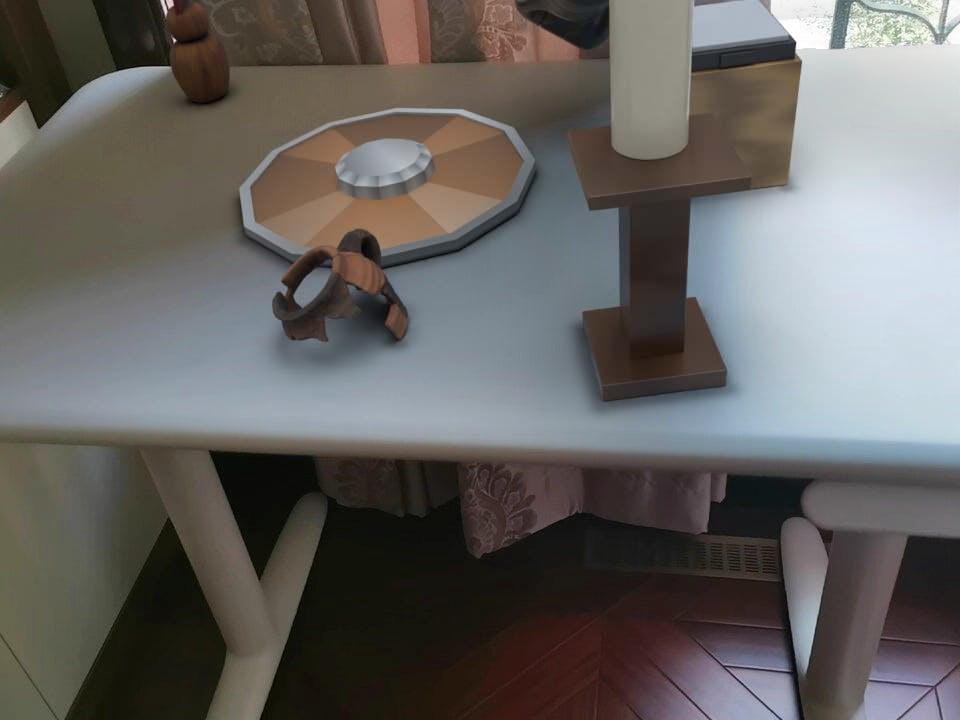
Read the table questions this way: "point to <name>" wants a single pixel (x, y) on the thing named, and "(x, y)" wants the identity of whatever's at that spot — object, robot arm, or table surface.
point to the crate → (753, 113)
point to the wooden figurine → (196, 53)
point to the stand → (654, 260)
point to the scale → (738, 36)
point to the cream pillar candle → (650, 76)
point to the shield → (389, 184)
